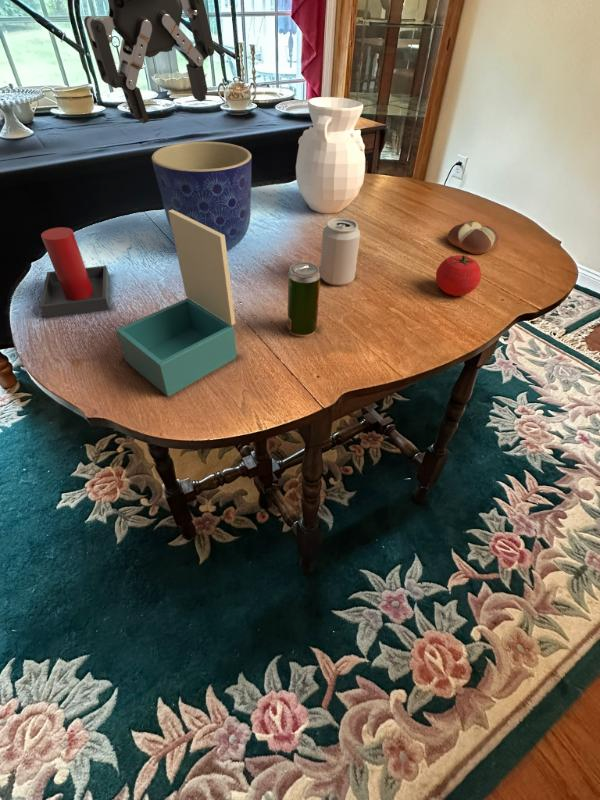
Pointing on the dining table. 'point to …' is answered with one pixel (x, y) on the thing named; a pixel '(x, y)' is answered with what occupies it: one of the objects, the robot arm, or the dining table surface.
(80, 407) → the dining table surface
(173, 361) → the teal open box
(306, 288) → the beer can
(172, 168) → the planter
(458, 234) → the bread
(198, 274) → the lid
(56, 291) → the tray
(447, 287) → the tomato
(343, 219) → the can
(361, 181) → the white vase
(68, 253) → the plain red cylinder
